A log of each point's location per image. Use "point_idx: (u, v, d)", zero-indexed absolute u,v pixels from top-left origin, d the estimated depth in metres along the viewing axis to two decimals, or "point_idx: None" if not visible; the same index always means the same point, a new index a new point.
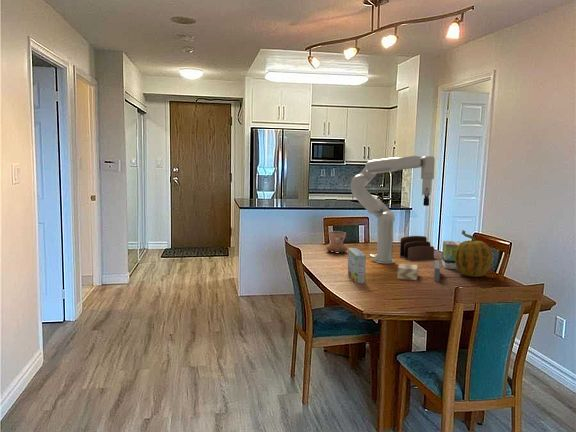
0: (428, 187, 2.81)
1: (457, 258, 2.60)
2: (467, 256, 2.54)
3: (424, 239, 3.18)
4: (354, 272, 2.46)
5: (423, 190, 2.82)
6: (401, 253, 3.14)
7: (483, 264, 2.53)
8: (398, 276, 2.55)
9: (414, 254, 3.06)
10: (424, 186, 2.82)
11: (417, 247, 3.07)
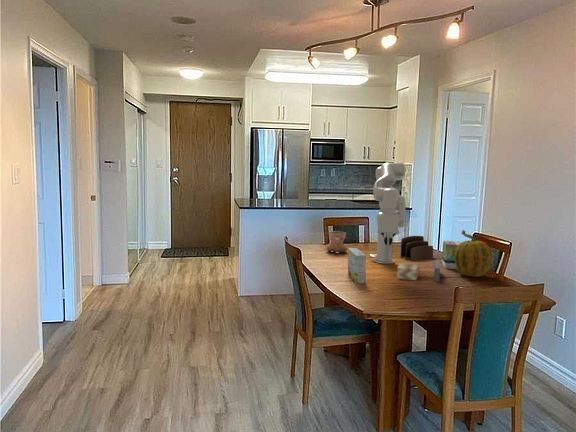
0: None
1: (457, 258, 2.60)
2: (467, 256, 2.54)
3: (421, 239, 3.19)
4: (354, 272, 2.46)
5: (397, 227, 2.56)
6: (402, 253, 3.12)
7: (483, 264, 2.53)
8: (397, 276, 2.55)
9: (416, 254, 3.06)
10: (397, 222, 2.57)
11: (419, 247, 3.07)
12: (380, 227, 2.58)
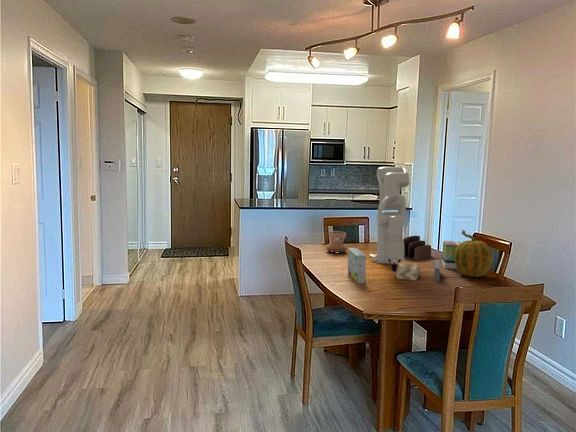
0: None
1: (457, 258, 2.60)
2: (467, 256, 2.54)
3: (418, 238, 3.21)
4: (354, 272, 2.46)
5: (403, 253, 2.57)
6: None
7: (483, 264, 2.53)
8: (397, 276, 2.56)
9: (418, 254, 3.06)
10: None
11: (420, 247, 3.07)
12: (386, 254, 2.59)
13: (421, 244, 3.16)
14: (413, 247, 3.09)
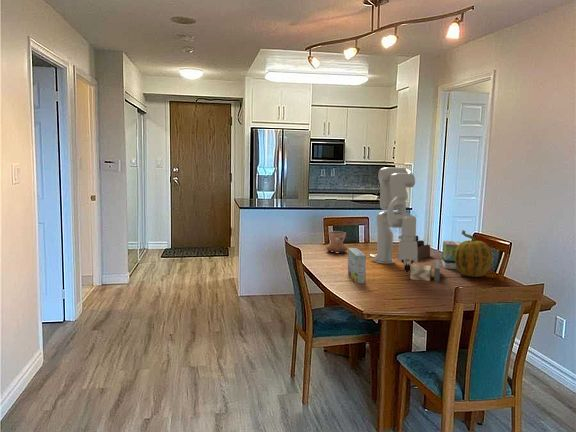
0: None
1: (457, 258, 2.60)
2: (467, 256, 2.54)
3: (417, 238, 3.21)
4: (354, 272, 2.46)
5: (417, 254, 2.55)
6: None
7: (483, 264, 2.53)
8: (411, 277, 2.54)
9: (419, 254, 3.06)
10: (417, 250, 2.55)
11: (421, 247, 3.07)
12: (399, 254, 2.57)
13: (420, 244, 3.16)
14: None
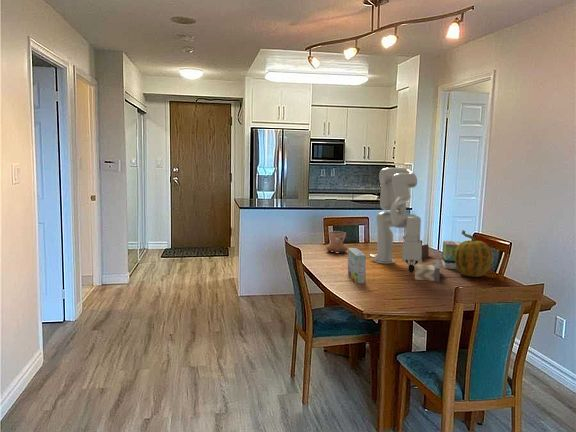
0: None
1: (457, 258, 2.60)
2: (467, 256, 2.54)
3: None
4: (354, 272, 2.46)
5: (421, 255, 2.54)
6: None
7: (483, 264, 2.53)
8: (416, 277, 2.53)
9: None
10: (421, 250, 2.54)
11: (422, 247, 3.08)
12: (403, 255, 2.56)
13: None
14: None
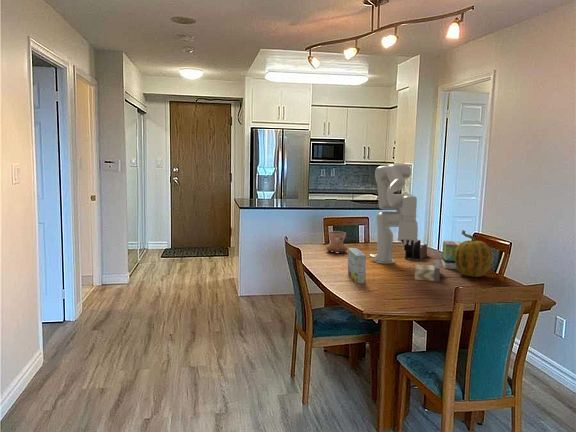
0: None
1: (457, 258, 2.60)
2: (467, 256, 2.54)
3: None
4: (354, 272, 2.46)
5: (417, 234, 2.54)
6: (406, 255, 3.08)
7: (483, 264, 2.53)
8: (415, 277, 2.53)
9: (421, 253, 3.07)
10: (417, 230, 2.54)
11: (422, 247, 3.08)
12: (399, 234, 2.56)
13: (418, 244, 3.17)
14: (415, 247, 3.09)
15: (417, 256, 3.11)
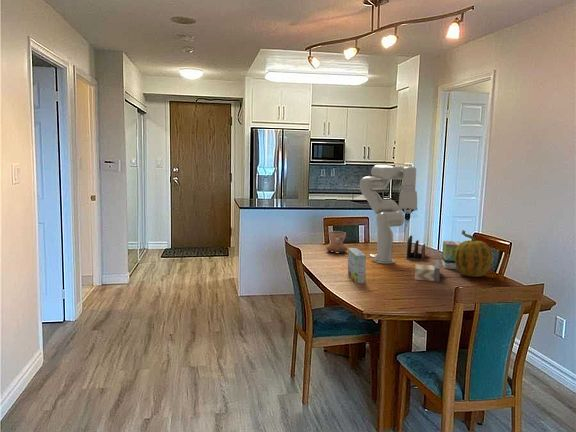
0: None
1: (457, 258, 2.60)
2: (467, 256, 2.54)
3: (411, 238, 3.22)
4: (354, 272, 2.46)
5: (416, 203, 2.69)
6: (407, 255, 3.07)
7: (483, 264, 2.53)
8: (415, 277, 2.53)
9: None
10: None
11: (423, 246, 3.09)
12: (400, 203, 2.71)
13: (417, 243, 3.18)
14: None
15: (417, 256, 3.11)
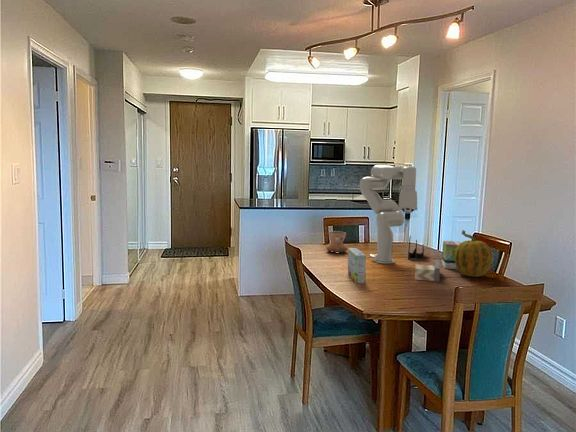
0: None
1: (457, 258, 2.60)
2: (467, 256, 2.54)
3: None
4: (354, 272, 2.46)
5: (416, 203, 2.70)
6: (409, 255, 3.06)
7: (483, 264, 2.53)
8: (415, 277, 2.53)
9: (423, 253, 3.08)
10: None
11: (423, 246, 3.09)
12: (400, 203, 2.72)
13: None
14: (416, 247, 3.09)
15: (418, 256, 3.11)
